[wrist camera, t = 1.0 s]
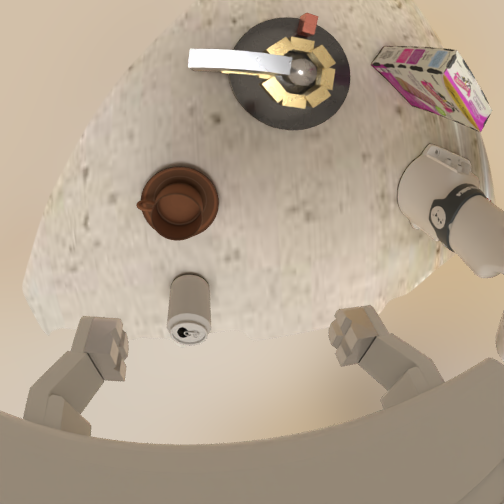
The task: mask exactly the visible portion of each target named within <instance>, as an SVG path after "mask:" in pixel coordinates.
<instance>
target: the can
mask: <svg viewBox="0 0 504 504" xmlns="http://www.w3.org/2000/svg"><path fill="white" fill-rule="evenodd" d="M167 329H168V331H169V333H170V335H171V338H172V339H173V340H174V341H176V342H177V343H179V344H183V345H189V346H190V345H197V344H200V343H202V342H204V341H205V340H206V339H207V336H208V334H209V333H210V331H211V313H210V290H209V285H208V283H207V282H206V281H205V280H204V279H203V278H201V277H198V276H195V275H183V276H180V277H178V278H177V279H175V280H174V281H173V283H172V284H171V291H170V300H169V310H168V320H167Z"/></svg>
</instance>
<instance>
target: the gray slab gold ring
mask: <svg viewBox="0 0 504 504" xmlns="http://www.w3.org/2000/svg"><path fill="white" fill-rule="evenodd" d="M314 42H315V41H311V40H306V39H302V38H297V37H289V38H287V37H285V38H283V39H281V40H279V41H278V42H276V43H275V44H273V45H272V46H270V47H268V48H267V49H265V50H264V51H263V53H259V52H249V51H238V50H222V49H190V53H189V64H188V67H189V68H190V69H192V70H193V71H218V72H221V73H230V74H244V75H255V76H257V78H260V79H265V80H263V81H262V82H261V83H259V85H260V86H261V88H262V89H263V90H264V91H265V92H266V93H267V95H268V96H269V97H270V98H271V99H272V100H273V101H274V102H277V103H278V102H279V104H280V105H282V106H290V107H297V108H303V109H305V107H306V106H309V107H312V108H314V107H316V106H317V105H318V104H320V103H321V102H323V101H324V100H326V99H327V98H328V97H330V96H331V95H330V93H329V92H328V90H332V89H333V82H334V75H335V69H332V68H329V67H331V66H332V65H334V64H336V62H335V61H334V60H333V58H332V57H331V55H330V54H329V53H328V51H327V50H326V49H325V47H324V46H323V45H318V46H315V47H314ZM288 51H294V52H299V53H304V54H307V56H308V57H309V58H310V60H311V61H312V62H313V63H314V65H315V66H316V67H317V76H316V80H315V85H314V86H313V87H311V88H310V89H308V90H307V91H305V92H304V93H302V94H301V95H299V94H292V93H287V92H286V91H285V89H284V88H283V87H282V86H281V84H280V83H279V82H278V81H277V80H276V78H275V77H274V76H279V75H290V70H291V63H292V57H287V56H282V55H284V54H285V53H287V52H288ZM327 89H328V90H327Z"/></svg>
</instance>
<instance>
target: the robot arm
mask: <svg viewBox="0 0 504 504" xmlns="http://www.w3.org/2000/svg"><path fill="white" fill-rule="evenodd" d="M398 204H399V208H400V210H401V211H402V213H403V214H404V215H405V216H406V217H408V218H409V220H410V223H411V226H412V227H413V228H414V229H416V230H417V229H421V230H423V231H424V232H425V233H426V234H428V235H429V236H430V237H432V238H433V239H434V240H436V241H441V242H442V244H443V245H444V246H445V247H447V248H448V249H449V250H451V251H452V252H455V253H456V254H458V256H459V257H460V258H461V259H462V260H463V261H464V262H465V263H466V264H467V265H468V266H469V268H470V269H471V270H472V271H473V272H474V273H475V274H476V275H477V276H479V277H481V278H491V277H495V276H497V275H499V274H500V273H502V274H504V211H503V210H501V209H500V208H498V207H497V206H496V205H494V204H493V203H492V202H491V200H490V201H489V200H488V198H486V196H485V195H484V194H483V192H482V191H481V190H480V181H479V178H478V177H477V176H476V175H474V174H473V173H471V163H470V161H469V160H467V159H466V158H464V157H462V156H459V155H457V154H455V153H453V152H451V151H448V150H446V149H444V148H441V147H439V146H436V145H434V144H429V145H428V146H427V147H426V148H425V150H424V151H423V153H422V154H421V155H420V156H419V157H418V158H417V159H415V160H414V161H413V162H412V163H411V164H410V165H409V166H408V168H407V169H406V170H405V172H404V174H403V176H402V178H401V181H400V184H399V188H398ZM335 318H336V320H334V321H333V322H332V323H331V325H330V327H329V340H330V342H331V345H332V346H334V347H335V348H336V349H337V350H336V356H337V359H338V361H339V364H340V366H347V365H353V364H357V363H359V364H358V365H359V366H361V367H362V368H363V369H364V370H365V371H366V372H367V373H368V374H370V375H371V376H372V377H373V378H374V379H375V380H376V381H377V382H378V383H380V384H381V385H382V386H383V387H384V388H385V389H386V390H387V392H386V393H385V394H384V395H383V396H382V398H381V400H380V401H381V403H382V406H383V408H384V409H383V410H380V411H377V412H375V413H372V414H369V415H366V416H363V417H360V418H357V419H353V420H350V421H346V422H343V423H340V424H336V425H332V426H328V427H324V428H320V429H316V430H311V431H307V432H302V433H298V434H292V435H287V436H281V437H275V438H269V439H261V440H253V441H244V442H234V443H221V444H197V445H173V444H149V443H135V442H126V441H118V440H110V439H103V438H97V437H91V425H90V423H89V422H88V421H87V420H86V419H85V418H83V417H82V416H81V415H80V414H81V413H82V412H83V410H84V409H85V407H86V406H87V405H88V403H89V402H90V400H91V399H92V398H93V396H94V395H95V393H96V392H97V391H98V389H99V388H100V387H101V385H102V384H103V383H104V380H108V381H125V374H126V364H125V362H124V360H125V359H126V358H127V356H128V350H129V348H128V338H127V334H126V332H124V331H123V330H122V328H123V323H122V321H121V319H119V318H105V317H90V316H83V317H82V318H81V319H80V322H79V325H78V328H77V331H76V334H75V338H74V341H73V345H72V348H71V351H67V352H66V353H65V354H64V355H63V356H62V357H61V358H60V359H59V360H58V361H57V362H56V363H55V364H54V365H53V366H52V367H51V368H49V369H48V371H46V372H45V373H44V375H43V376H41V377H40V379H38V380H37V382H36V383H35V384H34V385H33V386H32V387H31V388H30V390H29V394H28V398H27V403H26V408H25V412H24V417H23V419H21V418H19V417H16V416H13V415H10V414H8V413H5V412H3V411H0V504H504V365H503V364H501V363H500V362H498V361H497V360H495V359H493V358H487V359H485V360H483V361H482V362H480V363H478V364H477V365H475V366H473V367H472V368H470V369H468V370H467V371H465V372H463V373H461V374H460V375H458V376H456V377H454V378H453V379H450V380H449V381H447V382H444V380H443V378H442V377H441V375H440V373H439V371H438V369H437V368H436V366H435V364H434V363H433V361H432V359H430V358H429V357H427V356H426V355H424V354H422V353H421V352H419V351H418V350H416V349H415V348H414V347H412V346H411V345H409V344H408V343H406V342H405V341H403V340H401V339H400V338H398V337H397V336H395V335H394V334H392V333H391V334H389V332H388V331H387V329H386V327H385V326H384V324H383V322H382V321H381V319H380V317H379V316H378V314H377V312H376V311H375V309H374V308H373V307H372V306H371V305H368V306H361V307H352V308H344V309H339V310H338V311H336V313H335ZM496 348H497V351H498V354H499V356H500V357H501V359H502V360H503V361H504V312H503V314H502V317H501V320H500V324H499V327H498V331H497V334H496Z"/></svg>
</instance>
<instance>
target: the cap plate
mask: <svg viewBox="0 0 504 504" xmlns="http://www.w3.org/2000/svg"><path fill="white" fill-rule="evenodd" d="M317 20H318V16H315V15H312V14H309V13H305V14H304V15H302V16H301V17H300V19H298V18H276V19H271V20H268V21H265V22H262V23H260V24H258V25H256V26H255V27H253V28H251V29H250V30H249V31H248V32H247V33H245V34H244V36H243V37H242V38H241V39H240V40H239V42H238V43H237V45H236V46H235V48H234V50H238V51H249V52H259V53H263V51H264V50H265V49H267V48H268V47H270V46H272V45H273V44H275V43H276V42H278V41H279V40H281V39H283V38H285V37H287V38H289V37H297V38H302V39H306V40H311V41H315V42H314V47H315V46H318V45H323V46H324V47H325V49H326V50H327V51H328V53H329V54H330V55H331V57H332V58H333V60H334V61H335V62H336V64H334V65H332V66H331V67H329V68H332V69H335V75H334V82H333V89H332V90H328V89H327V90H328V92H329V93H330V95H331V96H330V97H328V98H327V99H326V100H324V101H323V102H321V103H320V104H318V105H317V106H316V107H314V108H312V107H309V106H306V107H305V109H303V108H297V107H290V106H282V105H280V104H279V102H278V103H277V102H274V101H273V100H272V99H271V98H270V97H269V96H268V95H267V93H266V92H265V91H264V90H263V89H262V88H261V86H260V85H259V83H261V82H262V81H263V80H265V79H260V78H257V76H255V75H244V74H230V73H229V80H230V85H231V88H232V91H233V93H234V95H235V97H236V99H237V100H238V102H239V103H240V104H241V105H242V107H243V108H244V109H245V110H246V111H247V112H248V113H250V114H251V115H252V116H253V117H255V118H256V119H258V120H259V121H261V122H263V123H265V124H267V125H269V126H272V127H275V128H279V129H285V130H302V129H307V128H311V127H314V126H317V125H319V124H321V123H323V122H325V121H326V120H328V119H329V118H330V117H331V116H333V115H334V114H335V113H336V112H337V111H338V109H339V108H340V107H341V105H342V104H343V102H344V100H345V98H346V96H347V93H348V90H349V85H350V68H349V64H348V60H347V58H346V55H345V53H344V51H343V49H342V47H341V46H340V45H339V43H338V42H337V41H336V39H335V38H334V37H333V36H332V35H331V34H329V33H328V32H327V31H326V30H324V29H323V28H321V27H320V26H318V25H317ZM282 56H287V57H292V63H291V70H290V75H279V76H274V77H275V78H276V80H277V81H278V82H279V83H280V84H281V86H282V87H283V88H284V89H285V91H286V92H287V93H292V94H299V95H301V94H302V93H304V92H305V91H307V90H308V89H310V88H311V87H313V86H314V85H315V80H316V76H317V67H316V66H315V65H314V63H313V62H312V61H311V60H310V58H309V57H308V56H307V54H304V53H299V52H294V51H288V52H287V53H285V54H284V55H282Z"/></svg>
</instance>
